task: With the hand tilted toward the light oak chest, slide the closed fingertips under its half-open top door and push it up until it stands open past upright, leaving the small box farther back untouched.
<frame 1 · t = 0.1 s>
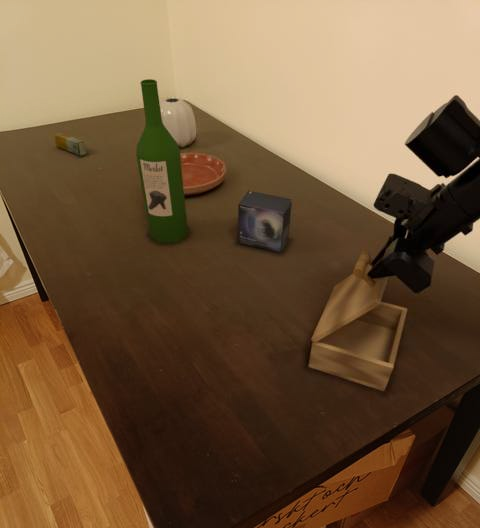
hand: (371, 270, 63), 17 cm above the table, tool tilted 35°, fingers closed on chest lid, 3 cm apart
wine bottle: (169, 233, 102), on the table
medication box: (72, 151, 136), on the table
chest: (355, 348, 75), on the table
saucer: (186, 181, 121), on the table
vase: (176, 144, 140), on the table
chest lid: (345, 286, 67), point 13 cm above the table, hinge at 54.3°, touching gripper
small box: (263, 242, 99), on the table
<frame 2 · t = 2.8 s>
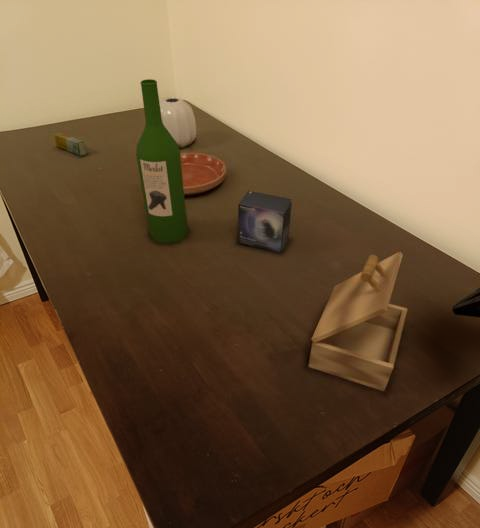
hand: (453, 310, 62), 13 cm above the table, tool tilted 45°, fingers closed
chest lid: (349, 288, 67), point 13 cm above the table, hinge at 48.3°
everything else where it was.
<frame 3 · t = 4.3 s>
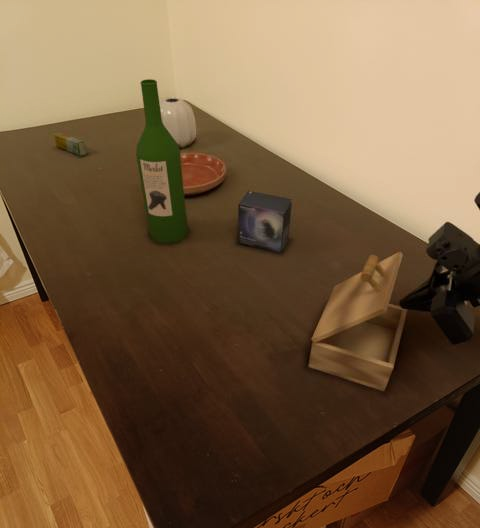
hand: (400, 305, 65), 12 cm above the table, tool tilted 45°, fingers closed
nothing on the table moved.
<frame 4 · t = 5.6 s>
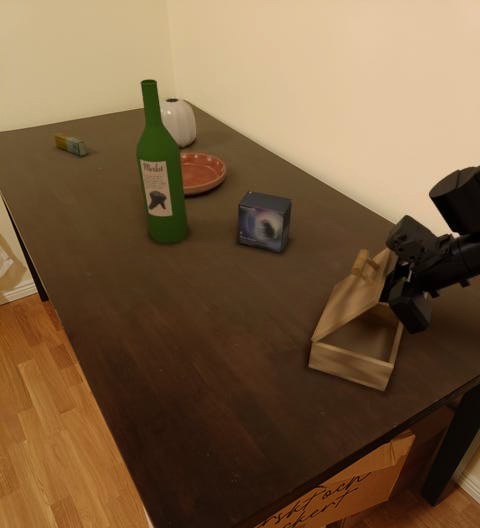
hand: (366, 297, 67), 12 cm above the table, tool tilted 45°, fingers closed
chest lid: (344, 285, 67), point 13 cm above the table, hinge at 55.8°
everything else where it was.
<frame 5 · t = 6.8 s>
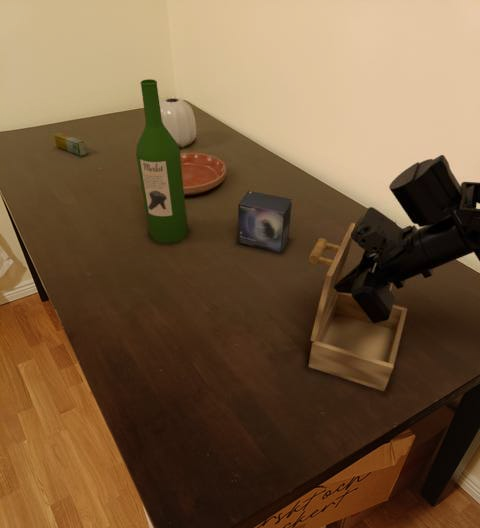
hand: (336, 288, 68), 12 cm above the table, tool tilted 45°, fingers closed, pressing on chest lid
chest lid: (321, 278, 68), point 13 cm above the table, hinge at 86.9°, touching gripper
everything else where it was.
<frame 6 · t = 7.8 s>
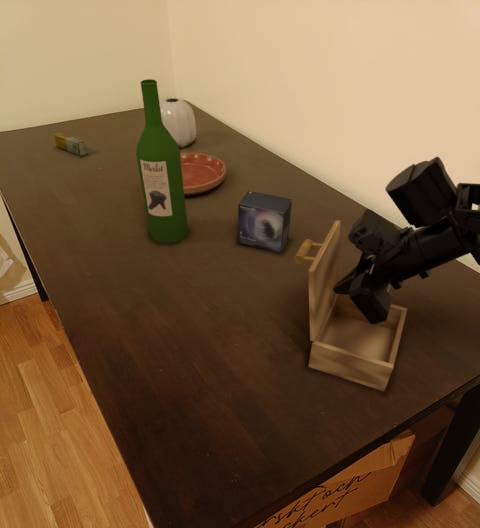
hand: (334, 290, 68), 11 cm above the table, tool tilted 45°, fingers closed
chest lid: (313, 278, 69), point 13 cm above the table, hinge at 97.9°
everything else where it was.
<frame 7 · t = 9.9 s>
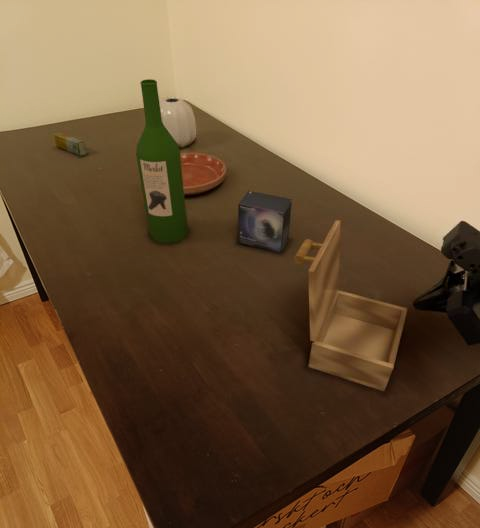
hand: (413, 305, 64), 12 cm above the table, tool tilted 45°, fingers closed
nothing on the table moved.
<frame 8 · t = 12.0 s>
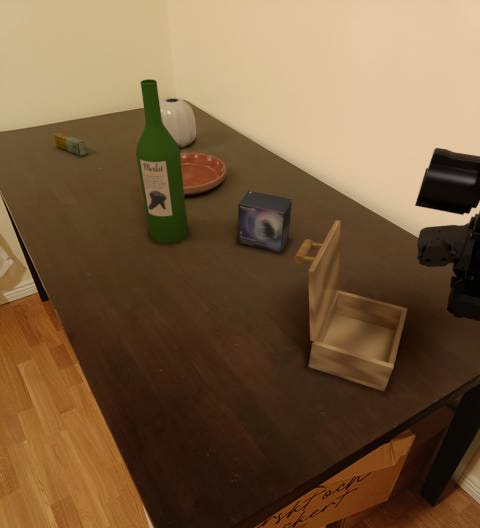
hand: (457, 315, 62), 13 cm above the table, tool pointing down, fingers closed
nothing on the table moved.
at the end: chest lid at +98° (first picture: +54°) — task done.
